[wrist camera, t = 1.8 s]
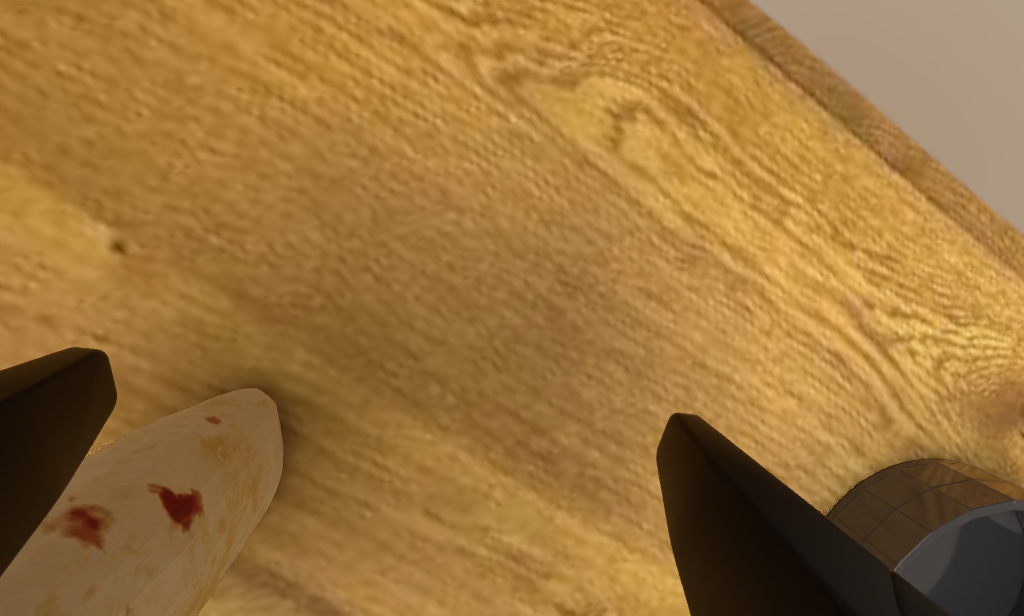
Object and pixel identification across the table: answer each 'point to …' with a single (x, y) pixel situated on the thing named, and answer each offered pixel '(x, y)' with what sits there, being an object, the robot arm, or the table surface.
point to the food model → (153, 515)
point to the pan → (944, 533)
